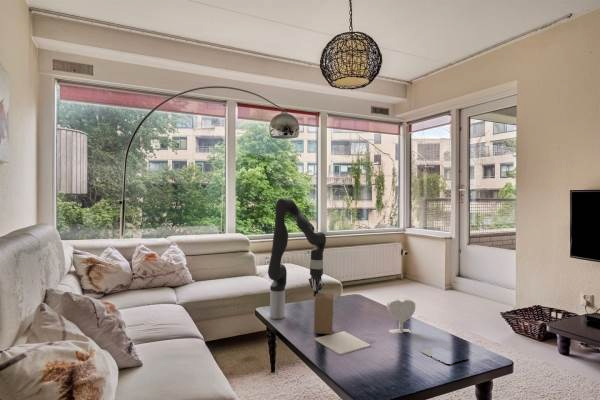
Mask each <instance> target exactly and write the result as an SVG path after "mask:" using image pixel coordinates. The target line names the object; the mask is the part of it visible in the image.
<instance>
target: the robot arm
mask: <svg viewBox="0 0 600 400" xmlns="http://www.w3.org/2000/svg"><path fill="white" fill-rule="evenodd" d="M274 213H275V214H274V215H275V216H274V217H275V218H274V231H273V236H272V246H271V247H272V248H271V253H270V260H269V264H268V269H267V275H268V278H269V279H270V280H272V283H271V284H270V286H269V287H270V288H269V289H270V291H269V292H270V295H269V297H270V298H269V299H270V300H269V317H270V319H272V320H273V319H274V320H282V319H284V318H286V317H285V316H286V312H285V311H286V286H287V275H288V274H287V273H288V272H287V271H288V270H287V267H286V266H285V265H284V264H283V263H281V262H282V258H283V256H284V253H285V251H286V249H287V247H288V242H289V232H288V228H287V226H286V224H285V223H286V222H285V217H286V214H289V215H291V216H292V217H293V218H294V220H295V223H296V225H297V228H299V230H300V231H301V233H303V234H304V236H305V238H306V240H307V241H308V243H309V244H310V245H312V246H314V248H312V249H311V250H310V260H309V261H310V262H309V275H310V276H311V277H310V278H308V283H309V285H310V288H311V289H312V290H313V297H314V298H315V296H316V293H319V292H320V291H321V290H322V289H323V287H324V286H325V283H324V282H322V280H323V279H322V277H323V275H324V251H325V246H326V242H327V237H326V234H325V233H323V232H321V231H318V232H315V226H314V225H313V224H312V223H311V222H310V220H308V219H307V218H306V217H305V216H304V214H303V213H302V211H301V210H300V208H299V207H298V205H297V204H296V202H295V201H294V200H293V199H292V198H284V197H283V198H282V197H281V198H278V199H277V201H276V202H275V212H274Z"/></svg>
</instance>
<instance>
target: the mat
mask: <svg viewBox="0 0 600 400" xmlns="http://www.w3.org/2000/svg"><path fill="white" fill-rule="evenodd" d="M314 341H315V342H318V343H319V344H321V345H323V346H325V347H326V348H327V349H329V350H330V351H332V352H334V353H335V354H336V355H338V356H341V355H345V354H347V353H351V352H355V351H359V350H362V349H366V348H369V347H372V345H371V344H370V343H368V342H366V341H364V340H361V339H360V338H358V337H356V336H354V335H352V334H351V333H348V332H347V331H344V330H343V331H341V332H335V333H332V334H325V335H323V336H318V337H315V338H314Z"/></svg>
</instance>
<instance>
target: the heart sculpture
mask: <svg viewBox="0 0 600 400" xmlns="http://www.w3.org/2000/svg"><path fill="white" fill-rule="evenodd" d="M386 310H387V312H388V314H389V315H390V316H391V317H393V318H394V319H395V320H396V321H398V329H397V328H396V329H389V330H388V331H389V332H390V333H391V334H402V333H403V332H409V333H412V332H411V331H410V330H411V329H410V328H404V322H406V321H407V320H410V318H411V317H412V316H413V315H414V313H415V311H416V303H415V302H414V301H413V300H411V299H410V298H401V299H398V298H392V299H389V300H388V301H387V302H386ZM409 329H410V330H409ZM403 334H404V333H403Z"/></svg>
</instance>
